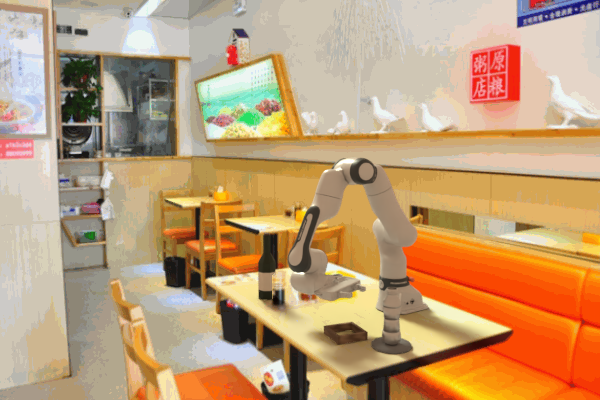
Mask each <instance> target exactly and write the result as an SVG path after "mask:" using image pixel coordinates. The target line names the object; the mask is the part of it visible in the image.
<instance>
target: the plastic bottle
mask: <svg viewBox="0 0 600 400" xmlns="http://www.w3.org/2000/svg"><path fill="white" fill-rule="evenodd" d="M386 293H387V296H386V297H385V298H384V299H383V302H382V305H383V311H382V312H383V327H382V328H383V329H382V333H381V337H382V340H383V342H384V343H386V344H389V345H396V344H399V342H400V341H401V338H402V334H401V325H400V321H401V320H400V319H401V317H400V315H401V314H400V310H401V301H400V299H399V297H398V296H397V294H398V288H395V287H388V288H387V292H386Z"/></svg>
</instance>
